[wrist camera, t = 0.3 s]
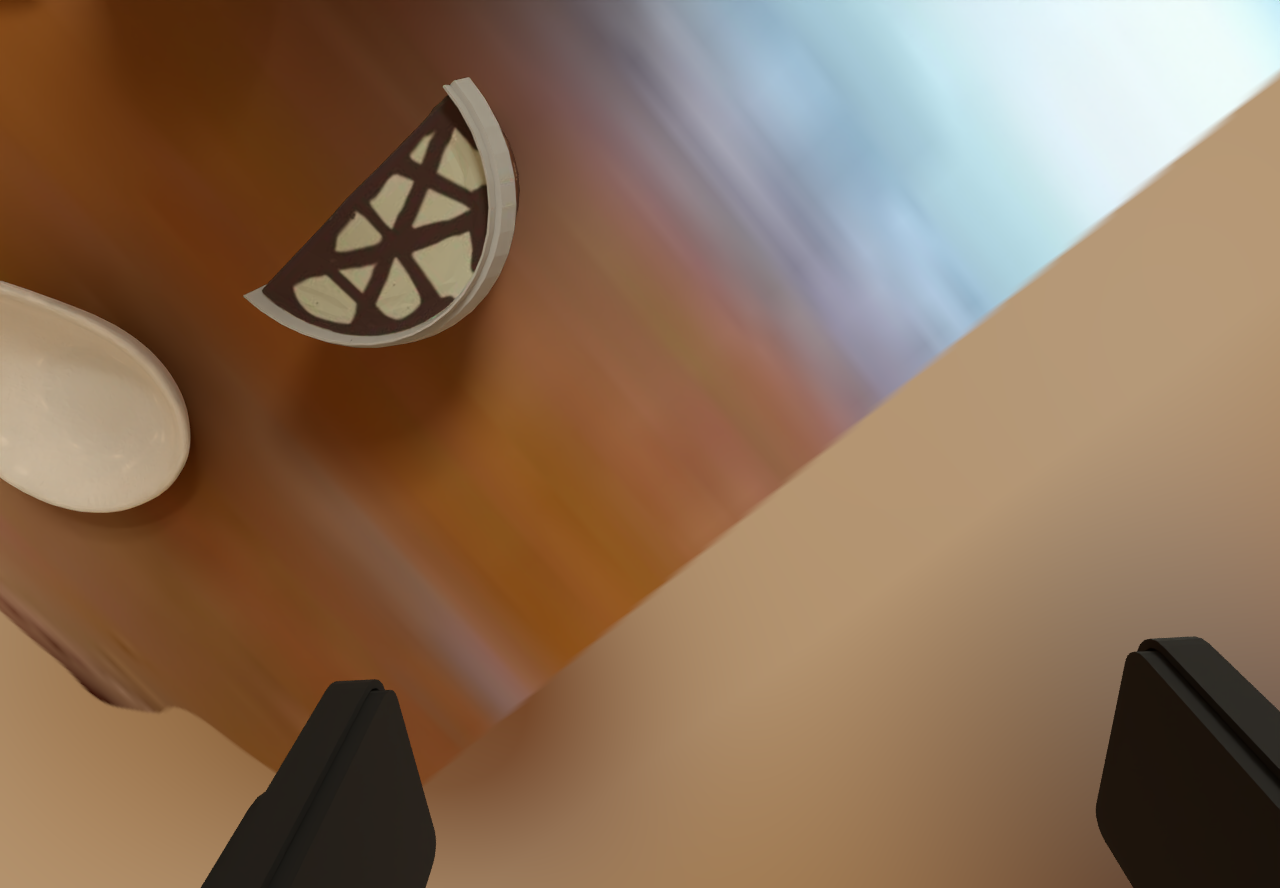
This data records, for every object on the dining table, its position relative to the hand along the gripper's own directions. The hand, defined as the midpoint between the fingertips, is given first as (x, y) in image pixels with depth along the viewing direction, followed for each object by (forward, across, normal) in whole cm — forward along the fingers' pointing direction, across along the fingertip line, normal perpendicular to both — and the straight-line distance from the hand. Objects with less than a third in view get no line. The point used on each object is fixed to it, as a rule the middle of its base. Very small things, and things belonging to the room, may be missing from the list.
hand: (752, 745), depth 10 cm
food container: (+31, +11, -4) cm, 33 cm away
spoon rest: (+31, +35, -2) cm, 47 cm away
